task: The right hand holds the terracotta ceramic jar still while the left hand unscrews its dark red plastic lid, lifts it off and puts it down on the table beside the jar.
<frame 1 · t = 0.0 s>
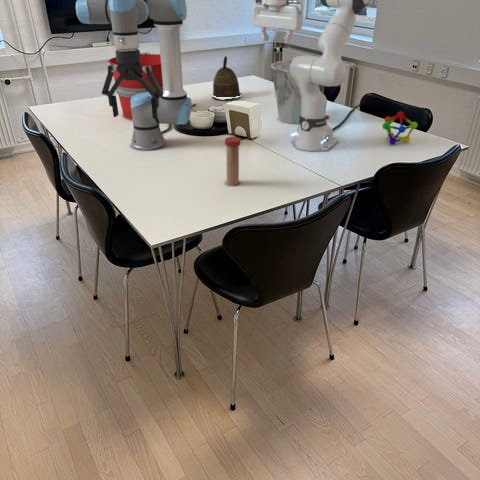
left hand: (135, 116, 150), 28 cm above the table, tool pointing down, fingers open, 13 cm apart
right hand: (275, 42, 162), 48 cm above the table, tool pointing down, fingers open, 8 cm apart
bell: (226, 97, 281), on the table
jar: (232, 183, 171), on the table
bucket: (295, 119, 243), on the table
educational toy: (395, 143, 211), on the table
lid: (232, 140, 162), point 17 cm above the table, screwed on, not yet turned
bucket 2: (145, 114, 249), on the table
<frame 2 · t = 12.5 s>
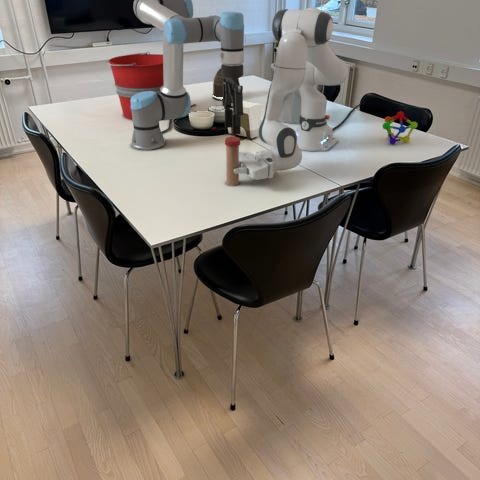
left hand: (232, 130, 160), 21 cm above the table, tool pointing down, fingers open, 7 cm apart
right hand: (230, 168, 168), 6 cm above the table, tool horizontal, fingers closed on jar, 5 cm apart
jar: (232, 183, 171), on the table, touching right hand
everything else where it was.
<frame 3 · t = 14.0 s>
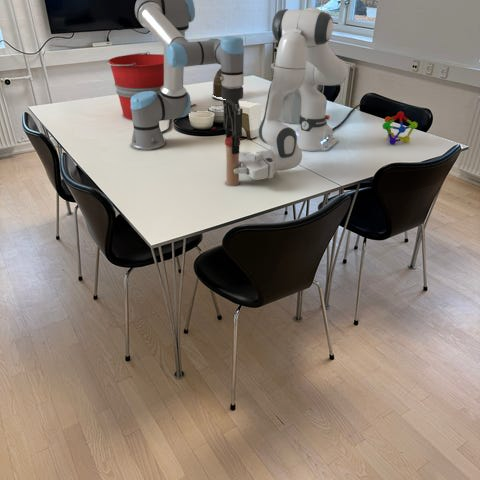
left hand: (232, 150, 164), 13 cm above the table, tool pointing down, fingers closed on lid, 5 cm apart
right hand: (230, 168, 167), 6 cm above the table, tool horizontal, fingers closed on jar, 5 cm apart
jar: (232, 183, 171), on the table, touching right hand
lid: (232, 140, 162), point 17 cm above the table, screwed on, not yet turned, touching left hand
everything else where it was.
when the left hand's fingers open (14 cm above the table, at t = 15.4 s): lid stays where it is, point 18 cm above the table.
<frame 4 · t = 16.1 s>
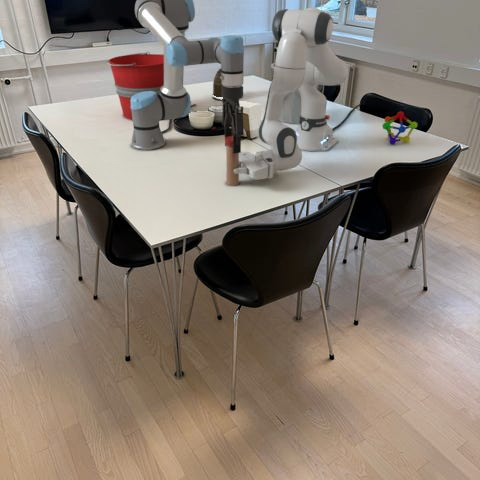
left hand: (232, 148, 164), 14 cm above the table, tool pointing down, fingers open, 7 cm apart
right hand: (230, 168, 167), 6 cm above the table, tool horizontal, fingers closed on jar, 5 cm apart
jar: (232, 183, 171), on the table, touching right hand
lid: (232, 139, 162), point 18 cm above the table, turned 85° so far, risen 0.3 cm, still on its thread
everything else where it was.
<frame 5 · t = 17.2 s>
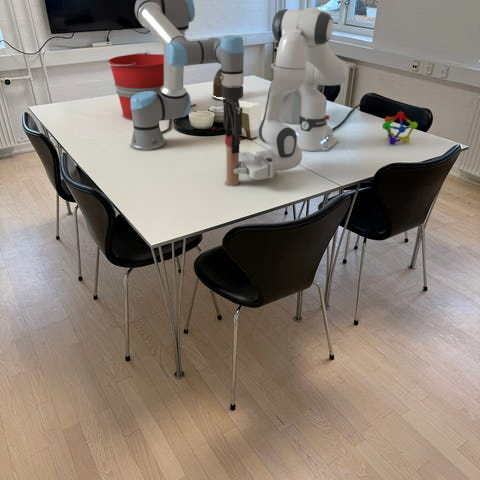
left hand: (232, 149, 164), 14 cm above the table, tool pointing down, fingers closed on lid, 5 cm apart
right hand: (230, 168, 167), 6 cm above the table, tool horizontal, fingers closed on jar, 5 cm apart
jar: (232, 183, 171), on the table, touching right hand
lid: (232, 139, 162), point 18 cm above the table, turned 85° so far, risen 0.3 cm, still on its thread, touching left hand
everything else where it was.
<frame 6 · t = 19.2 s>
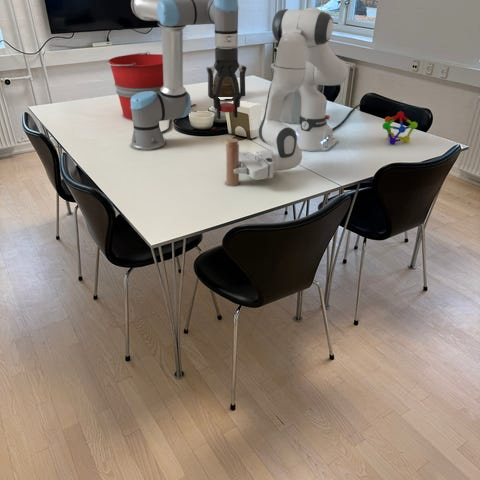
left hand: (226, 117, 158), 26 cm above the table, tool pointing down, fingers closed on lid, 5 cm apart
right hand: (230, 168, 167), 6 cm above the table, tool horizontal, fingers closed on jar, 5 cm apart
jar: (232, 183, 171), on the table, touching right hand
lid: (226, 105, 156), point 30 cm above the table, off its thread, touching left hand
everything else where it was.
when the left hand's fingers open (0 cm above the table, at t = 25.3 s): lid drops 3 cm, point 2 cm above the table.
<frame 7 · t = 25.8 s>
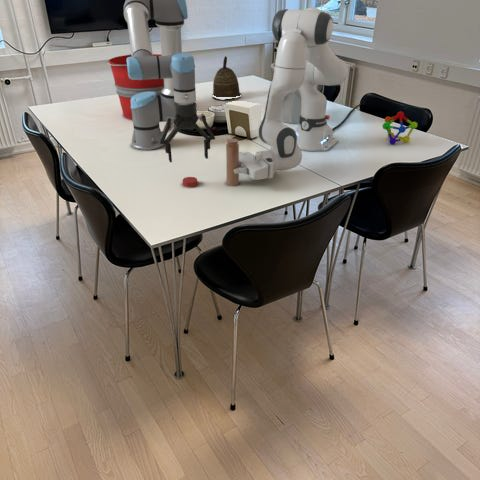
left hand: (188, 159, 166), 10 cm above the table, tool pointing down, fingers open, 13 cm apart
right hand: (230, 168, 168), 6 cm above the table, tool horizontal, fingers closed on jar, 5 cm apart
jar: (232, 183, 171), on the table, touching right hand
lid: (190, 180, 169), point 2 cm above the table, off its thread
everything else where it was.
when the right hand's fingers open (6 cm above the table, at t = 25.9 s): jar stays where it is, on the table.
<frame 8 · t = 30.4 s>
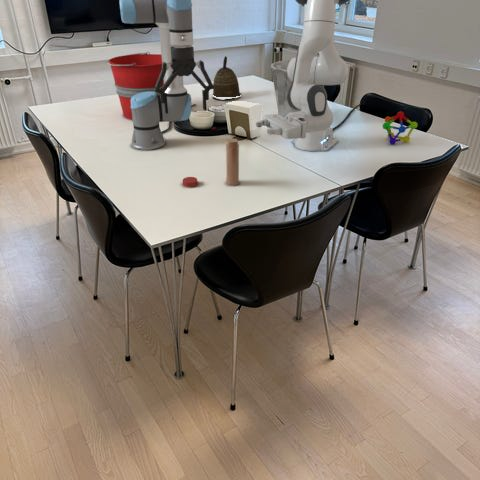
left hand: (185, 111, 156), 28 cm above the table, tool pointing down, fingers open, 13 cm apart
right hand: (262, 128, 165), 20 cm above the table, tool horizontal, fingers open, 8 cm apart
jar: (232, 183, 171), on the table
everything else where it was.
at the end: lid came off its thread; lid point 1.6 cm above the table; the left hand is holding nothing; the right hand is holding nothing; jar tilted 0°; jar moved 0.0 cm from its start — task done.
